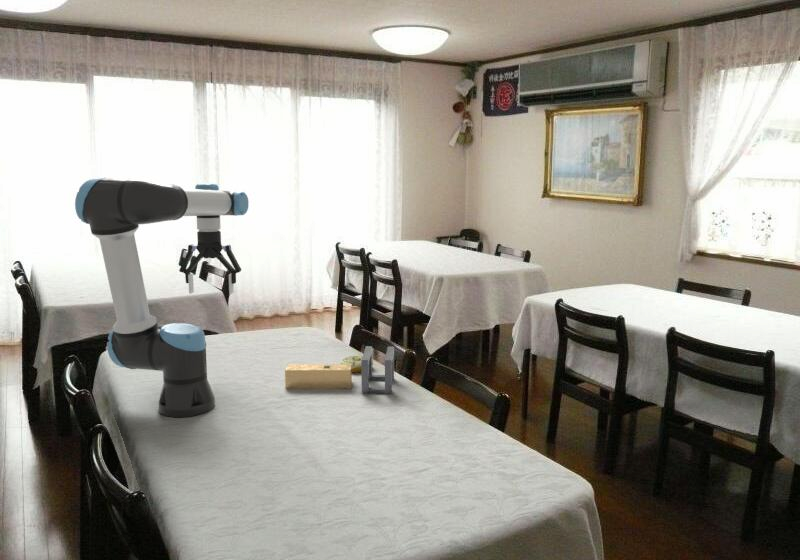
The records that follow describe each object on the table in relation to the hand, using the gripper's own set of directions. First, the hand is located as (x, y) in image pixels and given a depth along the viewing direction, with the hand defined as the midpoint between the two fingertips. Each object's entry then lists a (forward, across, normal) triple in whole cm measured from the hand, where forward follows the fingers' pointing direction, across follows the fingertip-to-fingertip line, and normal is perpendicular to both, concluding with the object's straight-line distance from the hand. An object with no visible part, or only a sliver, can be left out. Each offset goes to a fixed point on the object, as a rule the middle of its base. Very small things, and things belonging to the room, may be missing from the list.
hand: (211, 293), depth 221 cm
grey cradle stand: (+25, -58, +23) cm, 67 cm away
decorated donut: (+25, -50, +5) cm, 56 cm away
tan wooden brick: (+25, -39, +22) cm, 51 cm away
